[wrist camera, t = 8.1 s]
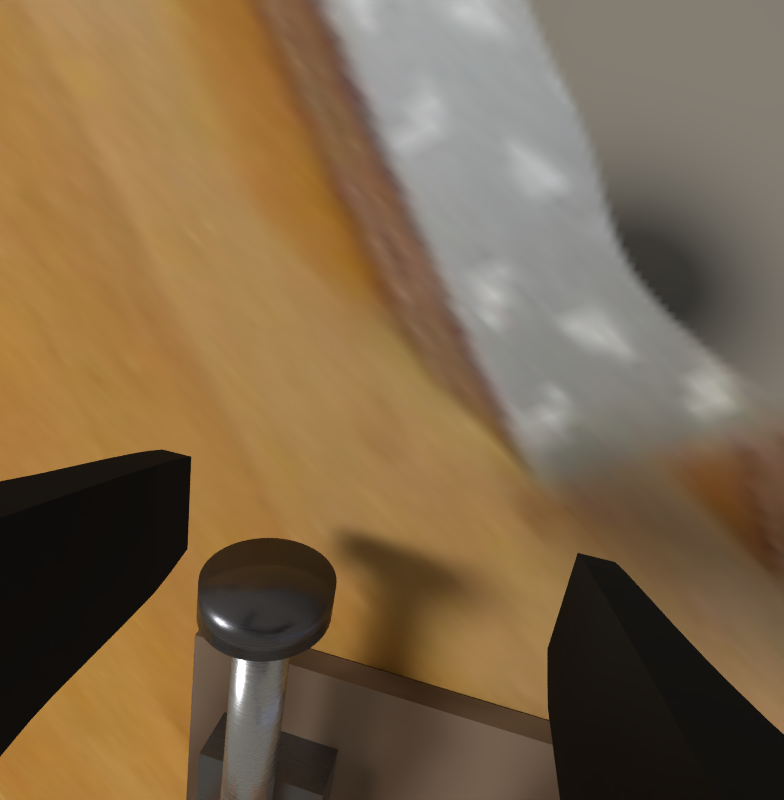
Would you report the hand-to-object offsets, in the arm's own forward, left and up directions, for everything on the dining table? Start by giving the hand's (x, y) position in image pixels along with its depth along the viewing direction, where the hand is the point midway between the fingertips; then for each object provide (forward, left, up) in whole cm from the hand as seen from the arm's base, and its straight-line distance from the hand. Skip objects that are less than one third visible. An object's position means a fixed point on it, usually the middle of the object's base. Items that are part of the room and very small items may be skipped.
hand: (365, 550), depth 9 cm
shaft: (+3, +11, -6) cm, 13 cm away
